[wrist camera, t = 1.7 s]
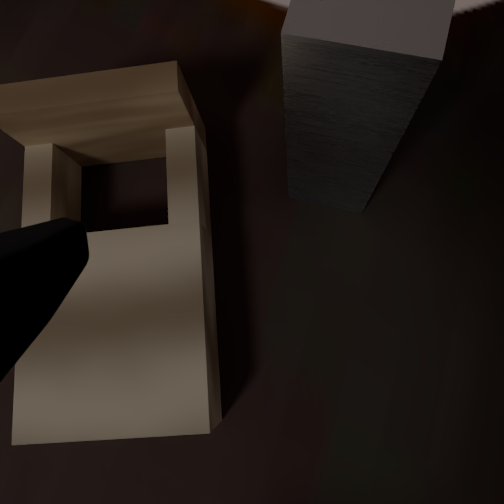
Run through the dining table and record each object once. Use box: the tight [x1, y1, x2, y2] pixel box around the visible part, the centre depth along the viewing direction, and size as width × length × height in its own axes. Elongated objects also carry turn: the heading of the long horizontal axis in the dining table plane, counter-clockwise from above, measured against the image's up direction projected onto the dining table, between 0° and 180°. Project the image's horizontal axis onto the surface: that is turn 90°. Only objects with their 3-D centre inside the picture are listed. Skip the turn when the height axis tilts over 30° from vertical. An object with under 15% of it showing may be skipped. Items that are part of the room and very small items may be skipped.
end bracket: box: [281, 0, 455, 214], centre depth 17 cm, size 5×4×12 cm
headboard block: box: [0, 61, 222, 445], centre depth 20 cm, size 16×9×6 cm, turn 4°
